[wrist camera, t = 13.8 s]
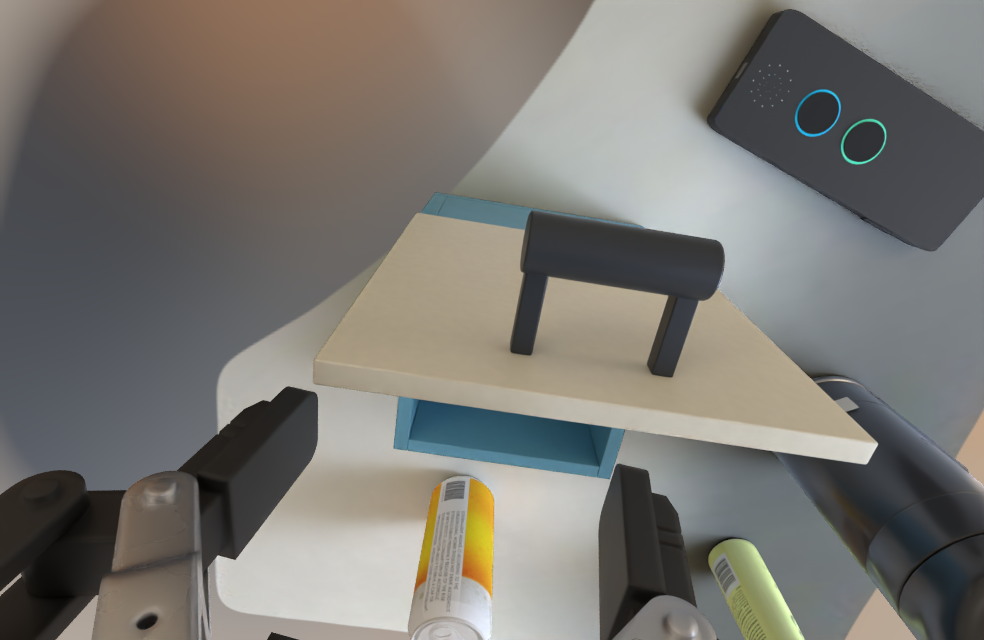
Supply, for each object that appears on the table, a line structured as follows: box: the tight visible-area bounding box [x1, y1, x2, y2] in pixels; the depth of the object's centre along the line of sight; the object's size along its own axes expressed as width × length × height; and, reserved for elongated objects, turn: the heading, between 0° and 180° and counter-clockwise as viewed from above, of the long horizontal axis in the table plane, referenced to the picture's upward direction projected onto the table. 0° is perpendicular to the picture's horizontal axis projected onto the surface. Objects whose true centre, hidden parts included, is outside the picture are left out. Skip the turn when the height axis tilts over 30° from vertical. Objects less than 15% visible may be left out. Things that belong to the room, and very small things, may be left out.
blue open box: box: [394, 192, 643, 479], centre depth 39 cm, size 17×16×9 cm
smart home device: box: [707, 9, 984, 251], centre depth 36 cm, size 8×2×20 cm
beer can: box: [408, 476, 494, 640], centre depth 44 cm, size 6×6×15 cm
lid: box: [313, 210, 878, 464], centre depth 22 cm, size 18×16×5 cm
